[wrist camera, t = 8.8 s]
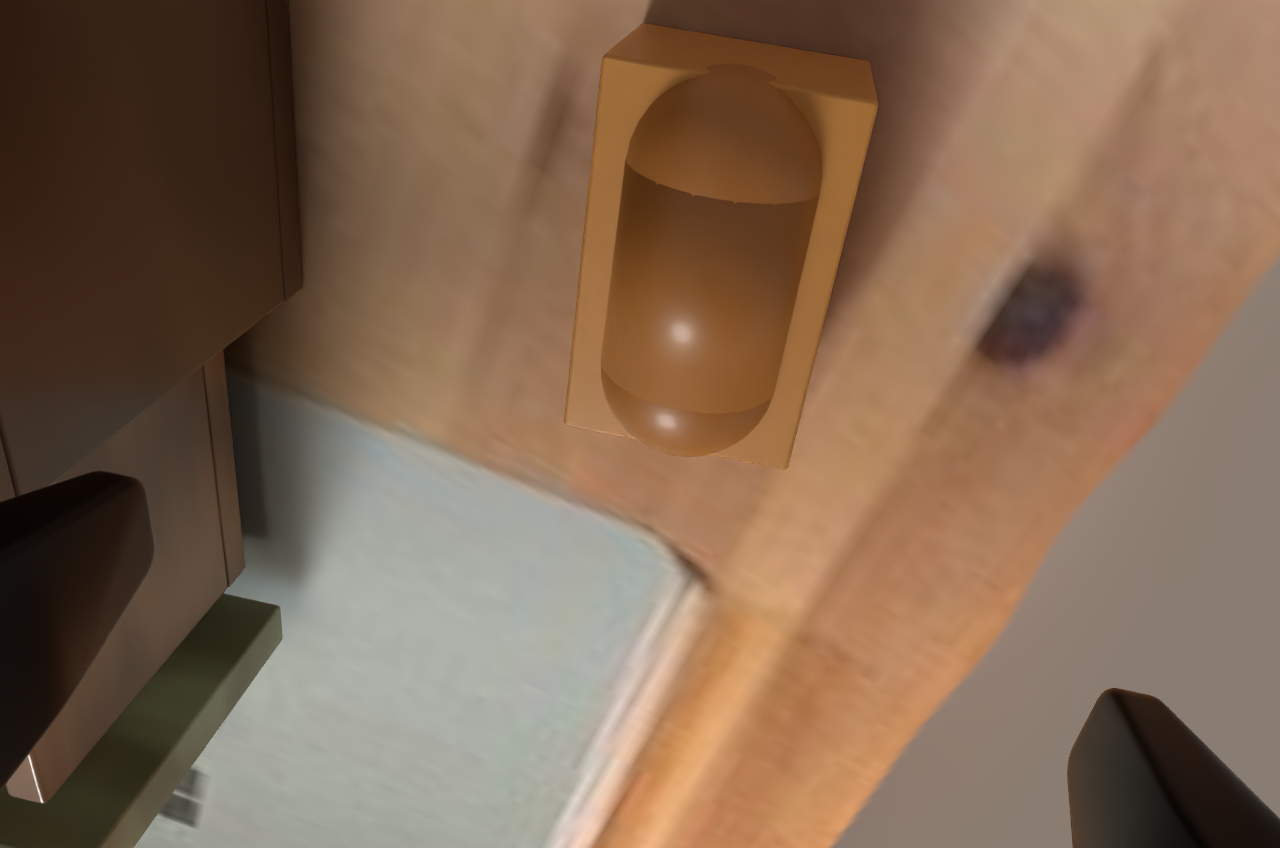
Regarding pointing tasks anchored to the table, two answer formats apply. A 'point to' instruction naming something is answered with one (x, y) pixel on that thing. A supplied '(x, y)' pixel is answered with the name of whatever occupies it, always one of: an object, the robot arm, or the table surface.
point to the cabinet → (134, 209)
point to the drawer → (153, 639)
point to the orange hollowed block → (713, 239)
